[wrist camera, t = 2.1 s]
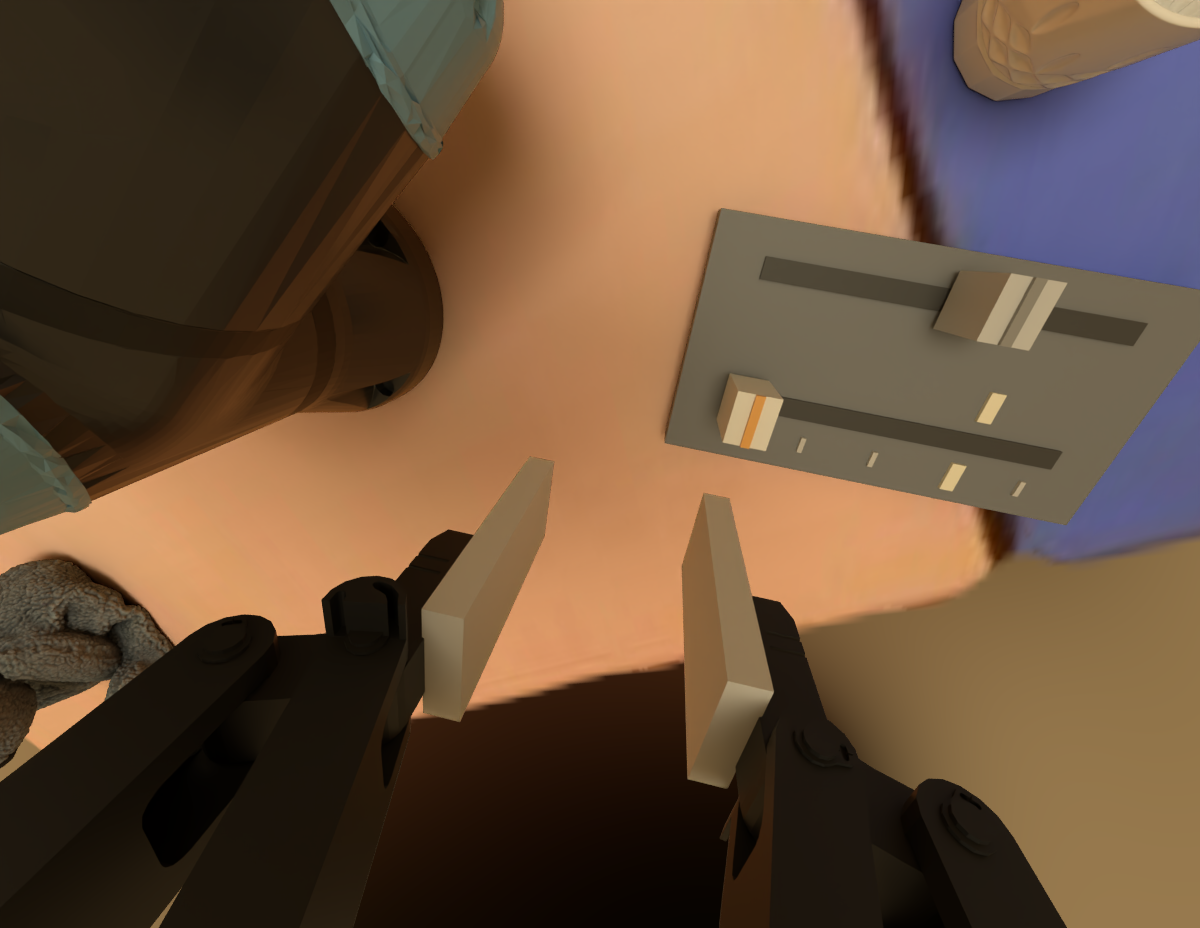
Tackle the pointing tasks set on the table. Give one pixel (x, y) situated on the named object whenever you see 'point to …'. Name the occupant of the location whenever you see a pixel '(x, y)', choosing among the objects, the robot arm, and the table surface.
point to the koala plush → (64, 642)
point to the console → (923, 366)
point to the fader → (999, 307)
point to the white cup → (1062, 40)
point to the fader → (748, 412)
